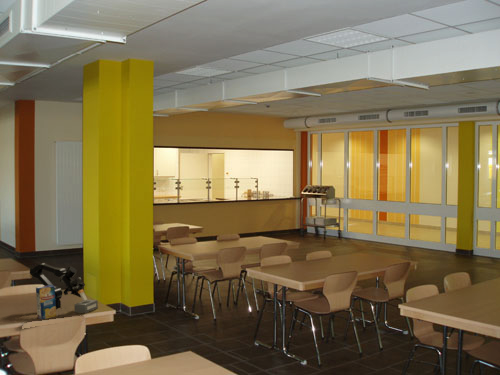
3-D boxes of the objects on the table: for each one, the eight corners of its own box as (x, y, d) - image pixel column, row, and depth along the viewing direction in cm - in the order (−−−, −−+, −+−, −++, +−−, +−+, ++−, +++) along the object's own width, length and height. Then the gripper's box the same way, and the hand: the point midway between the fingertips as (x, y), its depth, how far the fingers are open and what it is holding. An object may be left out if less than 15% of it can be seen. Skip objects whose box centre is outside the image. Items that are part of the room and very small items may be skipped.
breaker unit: (74, 312, 390) (74, 303, 390) (87, 307, 403) (86, 299, 403) (85, 313, 386) (85, 304, 386) (97, 308, 399) (97, 300, 399)
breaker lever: (82, 301, 394) (77, 291, 395) (85, 300, 397) (80, 290, 398) (84, 300, 393) (79, 290, 394) (88, 299, 396) (83, 289, 397)
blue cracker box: (37, 317, 379) (35, 287, 378) (52, 314, 386) (50, 284, 385) (41, 319, 374) (39, 289, 373) (56, 316, 381) (54, 286, 380)
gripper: (65, 277, 389) (78, 292, 385) (82, 272, 406) (94, 286, 402) (57, 287, 392) (70, 302, 388) (75, 281, 409) (87, 296, 406)
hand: (81, 296), depth 396 cm, fingers closed
